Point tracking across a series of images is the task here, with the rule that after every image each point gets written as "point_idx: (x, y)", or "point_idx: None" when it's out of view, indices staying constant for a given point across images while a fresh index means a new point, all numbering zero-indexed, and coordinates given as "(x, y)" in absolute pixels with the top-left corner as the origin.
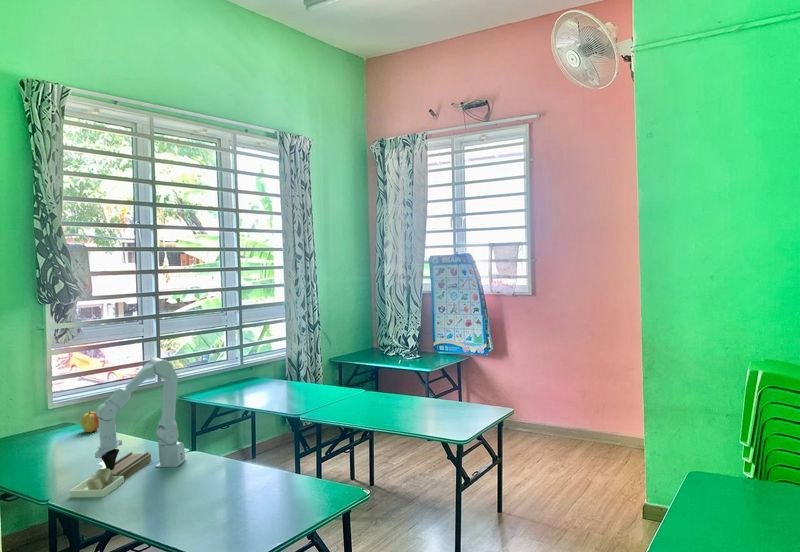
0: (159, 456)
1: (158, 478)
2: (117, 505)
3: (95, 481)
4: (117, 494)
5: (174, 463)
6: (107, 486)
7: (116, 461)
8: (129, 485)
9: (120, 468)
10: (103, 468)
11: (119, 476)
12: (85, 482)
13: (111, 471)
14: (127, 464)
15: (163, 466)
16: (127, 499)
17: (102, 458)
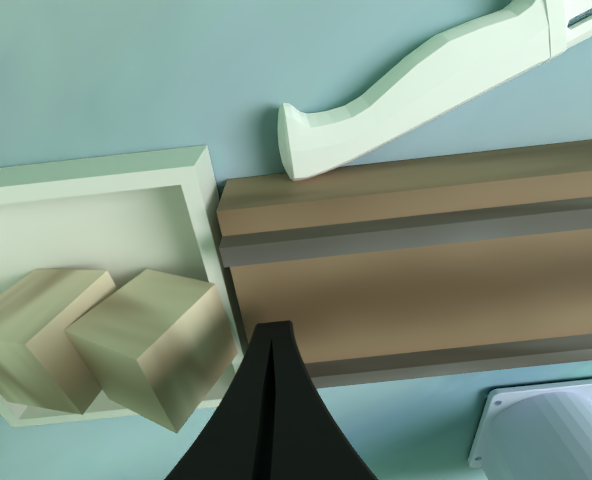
0: (549, 459)
1: None
2: (11, 474)
3: (2, 392)
4: (103, 419)
5: (489, 465)
6: (71, 415)
7: (553, 221)
8: None
9: (380, 326)
10: (530, 37)
11: None
12: (67, 192)
13: (309, 301)
14: (474, 324)
15: (481, 424)
16: (79, 474)
17: (181, 469)
